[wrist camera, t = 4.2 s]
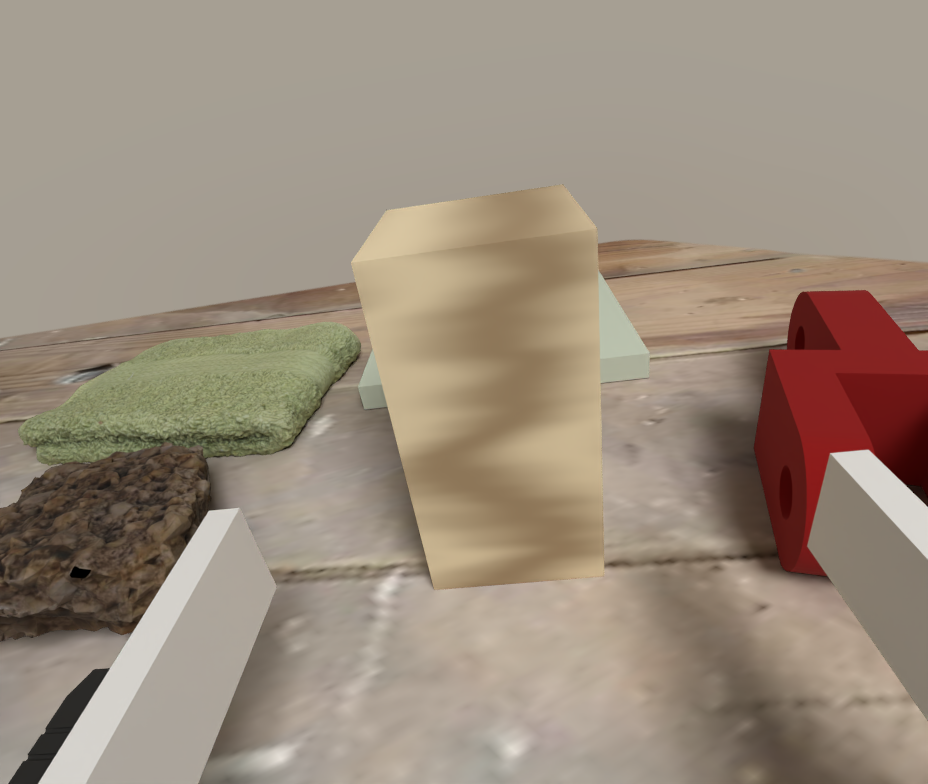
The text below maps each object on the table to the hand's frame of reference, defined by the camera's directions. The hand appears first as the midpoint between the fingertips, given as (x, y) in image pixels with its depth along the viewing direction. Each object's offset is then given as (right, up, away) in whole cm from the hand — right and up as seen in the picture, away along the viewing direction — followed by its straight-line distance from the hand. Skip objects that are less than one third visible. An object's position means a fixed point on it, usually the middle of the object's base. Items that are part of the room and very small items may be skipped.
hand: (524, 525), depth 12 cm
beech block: (+1, -2, +9) cm, 9 cm away
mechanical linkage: (+15, 0, +10) cm, 18 cm away
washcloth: (-18, +2, +22) cm, 29 cm away
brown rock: (-16, -4, +11) cm, 20 cm away
